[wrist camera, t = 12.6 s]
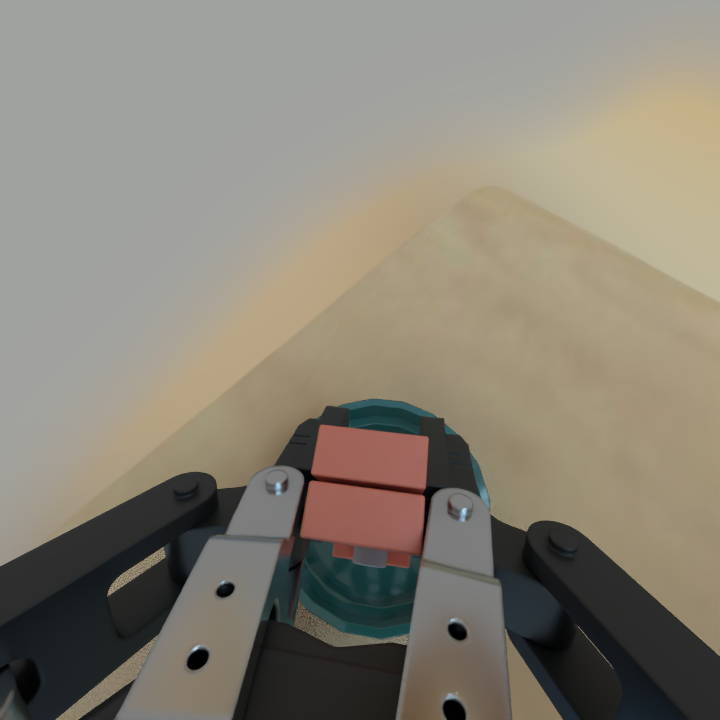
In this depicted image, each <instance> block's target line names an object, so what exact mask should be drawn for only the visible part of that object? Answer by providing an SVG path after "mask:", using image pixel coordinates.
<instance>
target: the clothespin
mask: <svg viewBox="0 0 720 720" xmlns="http://www.w3.org/2000/svg"><path fill="white" fill-rule="evenodd" d="M428 444H429V438H428V437H427V436H419V435H410V434H401V433H393V432H384V431H375V430H366V429H357V428H348V427H339V426H331V425H320V427H319V432H318V437H317V442H316V448H315V453H314V459H313V464H312V469H311V474H312V475H313V476H314V477H315V478H317V479H318V480H319V481H310V483H309V486H308V492H307V497H306V503H305V508H304V513H303V519H302V524H301V530H300V537H302V538H305V539H312V540H318V541H325V542H331V543H334V546H333V553H332V555H333V556H334V557H340V558H346V559H352V561H353V563H355V564H359V565H364V566H370V567H377V568H385V567H386V565H390V566H396V567H403V568H409V567H410V555H416V556H420V555H421V554H422V545H423V528H424V511H425V497H424V496H423V495H422V493H423V492H424V490H425V488H426V478H427V461H428Z"/></svg>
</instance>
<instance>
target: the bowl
mask: <svg viewBox="0 0 720 720" xmlns="http://www.w3.org/2000/svg"><path fill="white" fill-rule="evenodd" d="M339 407H343V408H349V428H357V429H366V430H375V431H384V432H393V433H401V434H410V435H419V431H420V421H421V416H427V417H436V416H435V415H433V414H432V413H429V412H427V411H425V410H422V409H420V408H417V407H415V406H413V405H410V404H408V403H405V402H401V401H392V400H382V399H368V400H363V401H358V402H353V403H348V404H343V405H341V406H339ZM320 417H321V416H320ZM320 417H318V418H317V419H320ZM436 418H437V417H436ZM445 432H446V434H453V435H458V434H457V433H455V432H454V431H453V430H452V429H451V428H449V427H448V426H447V425H446V424H445ZM470 457H471V461H472V466H473V470H474V475H475V480H476V484H477V489H478V494H479V497H480V498H482V499H483V500H484V501H485V502H486V504H487V505H488V507H489V510H490V501H489V500H490V499H489V496H488V493H487V490H486V486H485V483H484V480H483V477H482V474H481V470H480V467H479V465H478V463H477V461H476V460H475V458H474V457H473V456H472V454H471V453H470ZM333 546H334V543H331V542H325V541H322V543H318V542H310V544H309V547H308V550H307V553H306V555H305V558H306V562H305V569H304V574H303V579H302V584H301V589H300V595H299V600H300V601H301V602H302V604H303V605H304V606H305V607H306V609H307V610H308V611H309V612H311V613H312V614H314V615H315V616H317V617H319V618H320V619H322V620H323V621H325V622H327V623H328V624H330V625H332V626H333V627H335V628H336V629H338V630H340V631H341V632H342V631H343V632H344V633H349V634H354V635H360V636H365V637H370V638H376V639H387V638H392V637H397V636H402V635H407V634H409V631H410V625H411V619H412V612H413V606H414V600H415V594H416V587H417V581H418V575H419V568H420V562H421V559H419V558H413V555H410V567H409V568H403V567H396V566H390V565H386V567H385V568H377V567H370V566H364V565H359V564H355V563H353V561H352V559H346V558H340V557H334V556H333V555H332V553H333Z"/></svg>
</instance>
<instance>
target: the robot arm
mask: <svg viewBox="0 0 720 720" xmlns="http://www.w3.org/2000/svg"><path fill="white" fill-rule="evenodd" d="M320 425H331V426H339V427H348V428H349V408H343V407H334V406H326V408H325V410H324V412H323V414H322V416H321V417H320V419H311V418H310V419H308V420H306V421H305V422H303V423H302V424H300V425H299V426H298V428H297V429H296V431H295V433H294V435H293V436H292V438H291V439H290V441H289V443H288V444H287V446H286V447H285V449H284V451H283V452H282V454H281V456H280V457H279V459H278V460H277V462H276V464H275V465H274V466H272V467H268V468H265V469H263V470H261V471H259V472H257V473H256V474H255V475H254V476H253V477H252V478H251V480H250V482H249V484H248V486H244V487H236V488H225V489H217V484H216V480H215V479H214V477H212V476H211V475H209V474H207V473H202V472H190V473H184V474H181V475H178V476H175V477H173V478H171V479H169V480H167V481H165V482H163V483H161V484H159V485H157V486H155V487H153V488H151V489H149V490H147V491H146V492H144V493H142V494H140V495H138V496H136V497H134V498H132V499H130V500H128V501H126V502H124V503H122V504H120V505H118V506H116V507H115V508H113V509H111V510H109V511H107V512H105V513H103V514H101V515H99V516H97V517H95V518H93V519H91V520H89V521H87V522H85V523H84V524H82V525H80V526H78V527H76V528H74V529H72V530H70V531H68V532H66V533H64V534H62V535H60V536H58V537H56V538H55V539H53V540H51V541H49V542H47V543H45V544H43V545H41V546H39V547H37V548H35V549H33V550H31V551H29V552H27V553H25V554H24V555H22V556H20V557H18V558H16V559H14V560H12V561H10V562H8V563H6V564H4V565H2V566H0V720H55V719H56V718H58V717H59V716H60V715H61V714H62V713H64V712H65V711H66V710H67V709H68V708H70V707H71V706H72V705H73V704H75V703H76V702H77V701H78V700H79V699H81V698H82V697H83V696H84V695H85V694H87V693H88V692H89V691H90V690H91V689H93V688H94V687H95V686H96V685H98V684H99V683H100V682H101V681H102V680H104V679H105V678H106V677H107V676H108V675H110V674H111V673H112V672H113V671H114V670H116V669H117V668H118V667H119V666H121V665H122V664H123V663H124V662H125V661H127V660H128V659H129V658H130V657H131V656H133V655H134V654H135V653H136V652H138V651H139V650H140V649H141V648H142V647H144V646H145V645H146V644H147V643H148V642H150V641H151V640H152V639H153V638H154V637H156V636H157V635H158V634H159V635H158V637H157V639H156V641H155V643H154V645H153V647H152V649H151V651H150V652H149V654H148V656H147V658H146V660H145V662H144V664H143V666H142V668H141V670H140V672H139V674H138V676H137V678H136V679H135V680H133V681H132V682H130V683H129V684H128V685H126V686H125V687H123V688H122V689H121V690H119V691H118V692H116V693H115V694H114V695H112V696H111V697H109V698H108V699H107V700H105V701H104V702H102V703H101V704H100V705H98V706H97V707H95V708H94V709H93V710H91V711H90V712H88V713H87V714H86V715H84V716H83V717H81V718H80V719H79V720H512V712H511V699H510V686H509V674H508V661H507V649H506V636H505V628H506V630H507V633H508V636H509V638H510V640H511V641H512V643H513V645H514V646H515V648H516V649H517V651H518V652H519V654H520V655H521V657H522V658H523V660H524V661H525V663H526V664H527V666H528V667H529V669H530V670H531V672H532V673H533V675H534V676H535V678H536V679H537V681H538V682H539V684H540V685H541V687H542V688H543V690H544V691H545V693H546V694H547V696H548V697H549V699H550V700H551V702H552V703H553V705H554V706H555V708H556V709H557V711H558V712H559V714H560V715H561V717H562V718H563V720H720V656H719V655H717V654H716V653H715V652H714V651H713V650H712V649H711V648H710V647H709V646H707V645H706V644H705V643H704V642H703V641H702V640H701V639H700V638H699V637H697V636H696V635H695V634H694V633H693V632H692V631H691V630H690V629H688V628H687V627H686V626H685V625H684V624H683V623H682V622H681V621H680V620H678V619H677V618H676V617H675V616H674V615H673V614H672V613H671V612H669V611H668V610H667V609H666V608H665V607H664V606H663V605H662V604H661V603H659V602H658V601H657V600H656V599H655V598H654V597H653V596H652V595H650V594H649V593H648V592H647V591H646V590H645V589H644V588H643V587H642V586H640V585H639V584H638V583H637V582H636V581H635V580H634V579H633V578H631V577H630V576H629V575H628V574H627V573H626V572H625V571H624V570H623V569H621V568H620V567H619V566H618V565H617V564H616V563H615V562H614V561H613V560H611V559H610V558H609V557H608V556H607V555H606V554H605V553H604V552H602V551H601V550H600V549H599V548H598V547H597V546H596V545H595V544H594V543H592V542H591V541H590V540H589V539H588V538H587V537H586V536H584V535H583V534H582V533H580V532H579V531H577V530H576V529H574V528H572V527H570V526H567V525H565V524H562V523H559V522H555V521H538V522H535V523H533V524H532V525H531V526H530V527H529V529H528V531H527V532H526V531H523V530H521V529H518V528H515V527H512V526H510V525H507V524H505V523H503V522H501V521H499V520H498V519H496V518H495V517H493V516H492V515H491V514H490V510H489V507H488V505H487V504H486V502H485V501H484V500H483V499H482V498H480V497H479V494H478V489H477V484H476V480H475V475H474V470H473V466H472V461H471V457H470V451H469V447H468V444H467V443H466V442H465V441H464V440H463V439H462V437H461V436H460V435H453V434H446V432H445V423H444V418H436V417H427V416H421V421H420V431H419V436H427V437H428V438H429V444H428V461H427V478H426V488H425V490H424V492H423V493H422V495H423V496H424V497H425V511H424V528H423V545H422V554H421V555H420V556H416V555H413V558H419V559H421V562H420V568H419V575H418V581H417V587H416V594H415V600H414V606H413V612H412V619H411V625H410V631H409V638H408V644H407V645H402V644H397V643H383V644H371V645H360V646H349V647H334V646H331V645H329V644H327V643H325V642H323V641H321V640H319V639H317V638H315V637H313V636H311V635H309V634H307V633H305V632H303V631H301V630H299V629H297V628H295V627H293V625H294V620H295V615H296V610H297V605H298V600H299V595H300V589H301V584H302V579H303V574H304V569H305V562H306V558H305V555H306V553H307V550H308V547H309V544H310V542H318V543H322V541H318V540H312V539H305V538H302V537H300V530H301V524H302V519H303V513H304V508H305V503H306V497H307V492H308V486H309V483H310V481H319V480H318V479H317V478H315V477H314V476H313V475H312V474H311V469H312V464H313V459H314V453H315V448H316V442H317V437H318V432H319V427H320ZM162 547H164V550H165V556H166V558H164V559H163V560H161V561H160V562H158V563H157V564H155V565H154V566H152V567H151V568H149V569H148V570H146V571H145V572H143V573H142V574H140V575H139V576H138V577H136V578H135V579H133V580H132V581H130V582H129V583H127V584H126V585H124V586H123V587H121V588H120V589H118V590H117V591H115V592H114V593H112V594H111V595H109V596H108V597H107V593H108V590H109V588H110V586H111V585H112V583H113V582H114V581H115V580H116V578H117V577H119V576H120V575H121V574H122V573H124V572H125V571H127V570H128V569H130V568H131V567H133V566H134V565H136V564H137V563H139V562H141V561H142V560H144V559H145V558H147V557H148V556H150V555H151V554H153V553H154V552H156V551H157V550H159V549H161V548H162ZM578 626H579V627H580V629H581V630H582V631H583V632H584V633H585V634H586V636H587V637H588V638H589V639H590V640H591V641H592V643H593V644H594V645H595V646H596V647H597V648H598V650H599V651H600V652H601V653H602V654H603V656H604V657H605V658H606V659H607V660H608V661H609V663H610V664H611V665H612V667H613V668H614V669H613V668H612V667H611V665H610V664H609V663H608V662H607V661H606V660H605V658H604V657H603V656H602V655H601V654H600V653H599V651H598V650H597V649H596V648H595V647H594V645H593V644H592V643H591V642H590V641H589V640H588V638H587V637H586V636H585V635H584V634H583V633H582V631H581V630H580V629H579V628H578Z"/></svg>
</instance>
